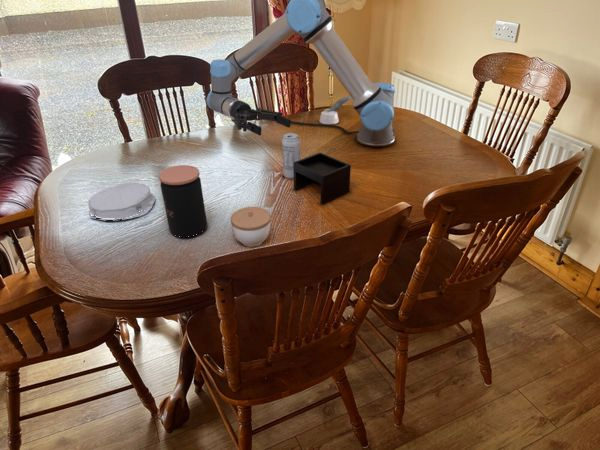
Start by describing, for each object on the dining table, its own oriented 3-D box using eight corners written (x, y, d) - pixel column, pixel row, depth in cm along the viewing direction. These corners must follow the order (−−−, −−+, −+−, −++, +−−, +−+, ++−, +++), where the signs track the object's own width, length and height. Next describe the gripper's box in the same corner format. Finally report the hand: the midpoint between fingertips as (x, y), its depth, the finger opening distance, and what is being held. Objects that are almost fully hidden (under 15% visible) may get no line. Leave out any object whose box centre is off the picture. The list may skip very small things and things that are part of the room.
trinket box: (277, 233, 127) (276, 204, 122) (262, 254, 119) (260, 224, 114) (243, 227, 130) (240, 199, 125) (226, 247, 122) (222, 218, 117)
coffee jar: (173, 221, 134) (162, 165, 125) (209, 219, 135) (201, 163, 125) (167, 241, 125) (155, 183, 116) (206, 238, 126) (197, 181, 116)
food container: (118, 230, 130) (112, 210, 126) (75, 213, 139) (69, 193, 136) (169, 201, 144) (165, 182, 141) (127, 187, 153) (122, 168, 150)
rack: (293, 189, 150) (293, 162, 144) (320, 178, 156) (320, 152, 151) (323, 204, 141) (323, 176, 136) (349, 192, 147) (350, 165, 142)
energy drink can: (304, 176, 158) (303, 135, 150) (292, 181, 155) (290, 140, 147) (291, 171, 162) (290, 131, 154) (279, 176, 158) (277, 136, 150)
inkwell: (315, 120, 207) (315, 98, 202) (346, 113, 215) (347, 92, 209) (326, 126, 200) (326, 103, 195) (358, 118, 208) (359, 97, 203)
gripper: (262, 114, 178) (300, 130, 166) (209, 126, 162) (247, 145, 150) (263, 95, 174) (301, 110, 162) (209, 105, 158) (247, 123, 146)
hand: (275, 127), depth 156 cm, fingers open, 13 cm apart
